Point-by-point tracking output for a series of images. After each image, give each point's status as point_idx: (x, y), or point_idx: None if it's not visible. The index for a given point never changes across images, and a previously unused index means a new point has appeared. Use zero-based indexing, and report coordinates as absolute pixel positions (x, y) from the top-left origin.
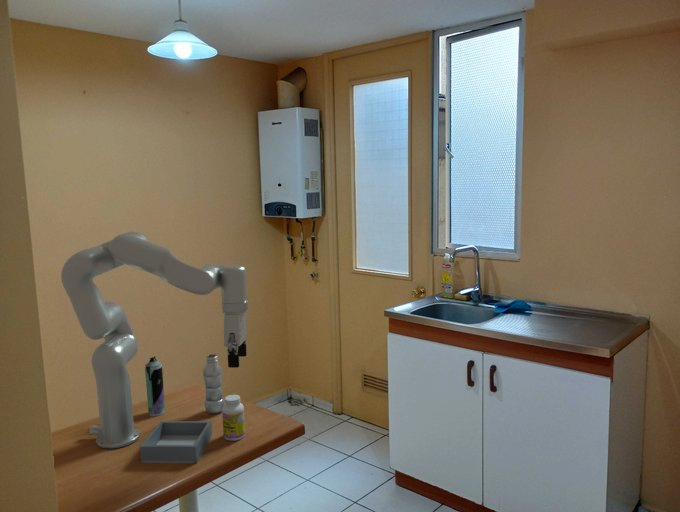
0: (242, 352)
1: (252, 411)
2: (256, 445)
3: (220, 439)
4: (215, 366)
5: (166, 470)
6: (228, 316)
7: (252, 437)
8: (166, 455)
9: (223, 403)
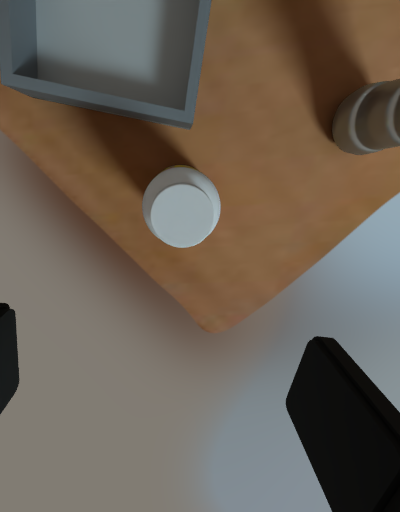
0: (309, 415)
1: (317, 233)
2: (126, 251)
3: (169, 156)
4: None
5: None
6: None
7: None
8: None
9: (355, 152)
